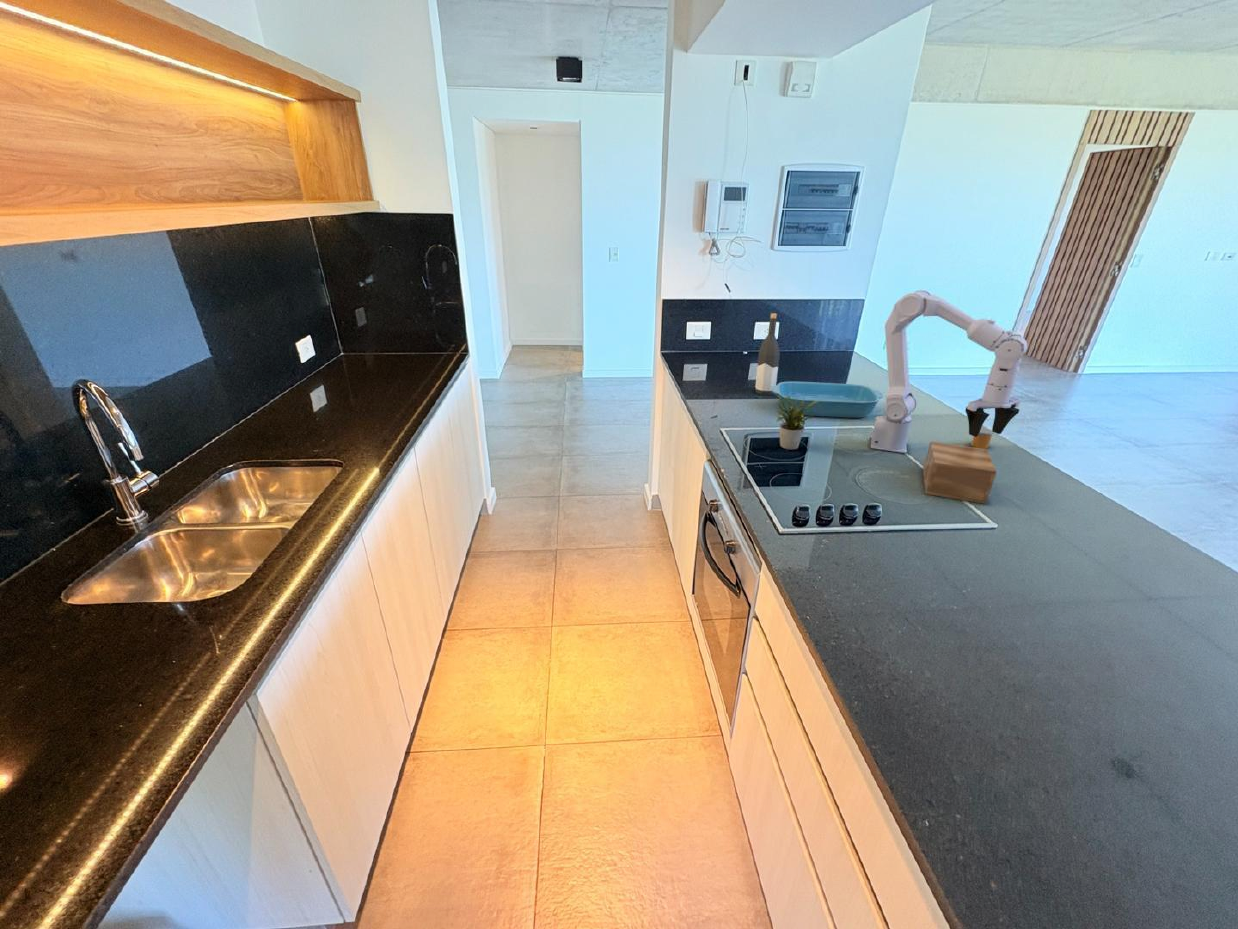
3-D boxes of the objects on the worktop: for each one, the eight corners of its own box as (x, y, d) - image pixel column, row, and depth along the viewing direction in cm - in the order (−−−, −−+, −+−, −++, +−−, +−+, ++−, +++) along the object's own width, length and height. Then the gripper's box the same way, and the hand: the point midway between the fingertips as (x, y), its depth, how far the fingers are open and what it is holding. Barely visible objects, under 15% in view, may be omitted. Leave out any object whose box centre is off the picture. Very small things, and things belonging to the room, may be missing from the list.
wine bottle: (778, 390, 209) (787, 313, 197) (771, 396, 203) (781, 316, 190) (758, 387, 213) (766, 311, 201) (751, 392, 207) (759, 314, 194)
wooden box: (922, 470, 142) (930, 441, 138) (977, 479, 137) (987, 449, 133) (925, 493, 130) (934, 462, 126) (985, 504, 125) (996, 471, 121)
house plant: (751, 445, 158) (757, 393, 151) (773, 433, 167) (780, 383, 160) (796, 459, 149) (804, 403, 142) (817, 445, 158) (826, 392, 152)
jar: (971, 447, 157) (976, 432, 155) (969, 441, 160) (974, 427, 158) (989, 449, 155) (994, 434, 153) (987, 444, 159) (992, 429, 157)
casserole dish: (771, 416, 182) (773, 396, 179) (768, 397, 202) (770, 378, 199) (885, 423, 175) (890, 402, 172) (871, 403, 195) (874, 384, 192)
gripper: (990, 390, 129) (975, 442, 135) (1037, 386, 132) (1020, 436, 138) (966, 382, 135) (952, 432, 141) (1012, 379, 138) (996, 427, 144)
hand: (984, 434), depth 140 cm, fingers open, 7 cm apart
